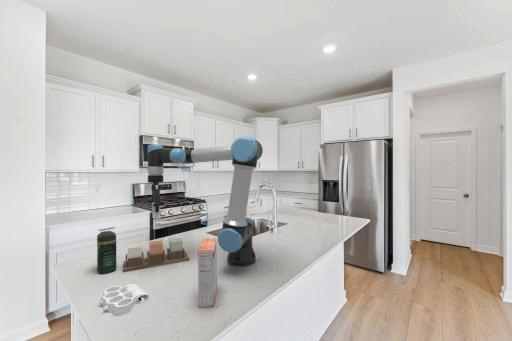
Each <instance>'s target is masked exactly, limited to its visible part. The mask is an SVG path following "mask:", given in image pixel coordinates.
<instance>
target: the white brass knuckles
mask: <svg viewBox="0 0 512 341" xmlns="http://www.w3.org/2000/svg"><path fill="white" fill-rule="evenodd" d="M140 297H142V298H144V299H145V301H147V300H148V299H149V294H148V293H147V292H145V291H144V289H143V288H141V287H139V285H138V284H135V283H131V284H127V285H124V286H123V285H122V286H120V285H115V286H114V285H113V286H109V287H107V288H106V289H104V290H103V291H102V299H101V300H100V301H99V302H97V304H99V305H102V308H103V309H102V311H105V312H108V311H112V312H111V313H114V312H115V313H114V314H115V316H122V315H123V314H124V315H126V313H127V314H129V313H130V312H132V311H133V310H134V308H133V307H135V306H136V305H138V304H141V303H140V302H139V301H138V300H137V299H139V298H140ZM137 303H138V304H137ZM135 304H136V305H135ZM134 305H135V306H134ZM132 309H133V310H132ZM131 310H132V311H131ZM128 312H129V313H128ZM124 315H123V316H124Z"/></svg>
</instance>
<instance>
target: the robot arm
mask: <svg viewBox="0 0 512 341" xmlns="http://www.w3.org/2000/svg"><path fill="white" fill-rule="evenodd" d="M263 153H264V152H263V146H262V144H261V142H259V141H258V140H257V139H254V138H253V137H250V136H240V137H238V138H236V139H235V140H234V141H233V142H232V143H231V145H227V146H218V147H217V146H216V147H206V148H196V149H195V148H194V149H183V148H176V147H175V148H164V146H163V145H162V144H149V145H148V146H147V153H146V156H147V168H146V171H147V183H149V184H151V189H150V190H151V214H152V215H153V220H160V219H161V196H160V195H161V185H159V183H164V164H186V165H189V164H190V165H191V164H196V163H197V164H198V163H208V162H209V163H210V162H211V163H212V162H221V161H222V162H223V161H224V162H225V161H231V165H232V166H233V167H234V169H233V175H232V176H233V177H232V182H231V188H230V189H231V190H230V195H229V196H230V197H229V201H228V209H227V216H226V217H225V218H224V219H223V221H222V226H221V230H220V231H219V233H218V235H217V244H218V246H219V247H220V249H222V250H223V251H224V252H227V253H228V254H227V256H226V257H227V263H228V264H229V265H232V266H236V267H237V266H238V267H245V266H249V265H252V264H254V263H256V258H257V257H256V254H255V253H256V252H255V251H254V248H253V225H254V224H253V219H252V218H251V217H246V215H247V209H248V208H247V207H248V201H249V196H250V191H251V190H250V189H251V188H250V187H251V183H252V176H253V171H254V170H255V169H257V164H258V160H260V159H261V157H262V156H263Z"/></svg>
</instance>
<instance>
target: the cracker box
mask: <svg viewBox="0 0 512 341" xmlns="http://www.w3.org/2000/svg"><path fill="white" fill-rule="evenodd" d="M217 254H218V253H217V238H203V239H202V241H201V243H200V246H199V247H198V249H197V267H198V268H197V269H198V272H197V275H198V276H197V277H198V281H197V282H198V308H210V307H211V308H213V307H215V305H216V304H215V303H216V296H217V290H218V267H217V265H218V264H217V263H218V262H217V261H218V260H217Z"/></svg>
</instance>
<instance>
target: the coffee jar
mask: <svg viewBox="0 0 512 341" xmlns="http://www.w3.org/2000/svg"><path fill="white" fill-rule="evenodd" d="M96 237H97V238H96V249H97V250H96V259H97V260H96V261H97V262H96V265H97V267H96V268H97V273H99V274H110V273H112V272H114V271H116V270H117V233H116V232H114V231H111V230H105V231H100V233H98V234H97V235H96Z"/></svg>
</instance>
